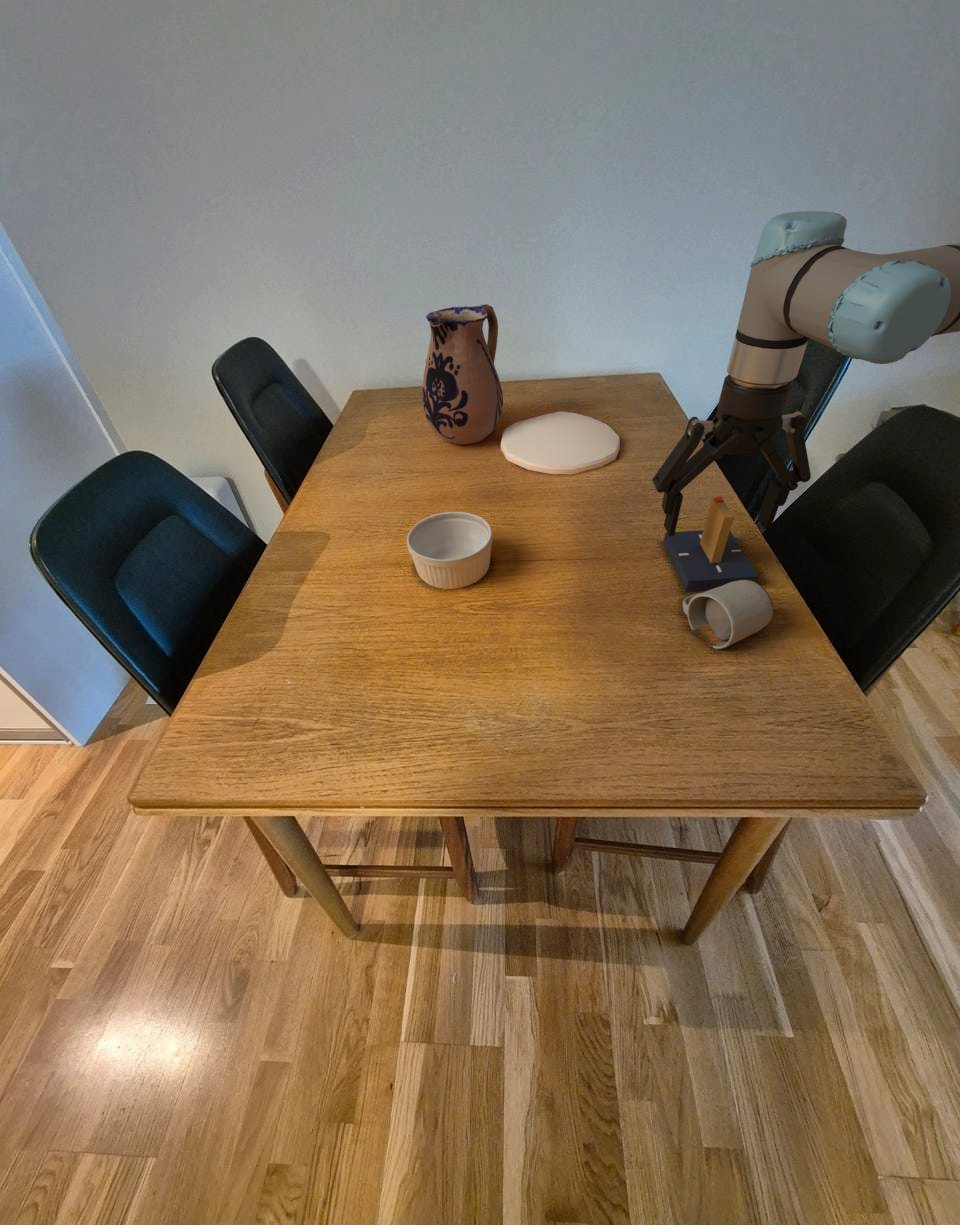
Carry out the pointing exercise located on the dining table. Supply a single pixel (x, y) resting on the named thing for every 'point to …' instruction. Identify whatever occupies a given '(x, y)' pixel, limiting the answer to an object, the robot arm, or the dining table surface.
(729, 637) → the ceramic mug
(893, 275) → the robot arm
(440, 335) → the ceramic pitcher
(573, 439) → the decorative plate
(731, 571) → the panel
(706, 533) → the knob
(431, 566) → the ramekin
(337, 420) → the dining table surface
